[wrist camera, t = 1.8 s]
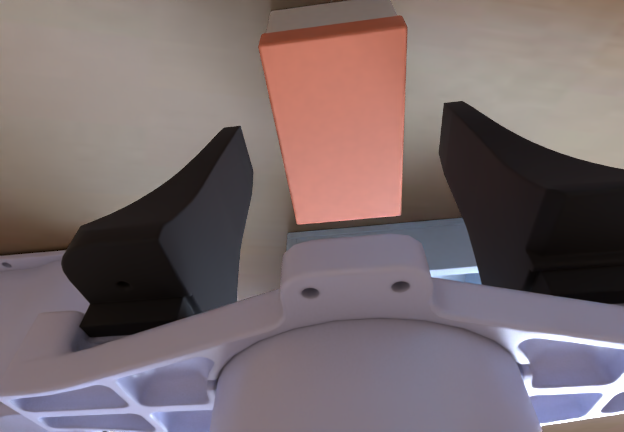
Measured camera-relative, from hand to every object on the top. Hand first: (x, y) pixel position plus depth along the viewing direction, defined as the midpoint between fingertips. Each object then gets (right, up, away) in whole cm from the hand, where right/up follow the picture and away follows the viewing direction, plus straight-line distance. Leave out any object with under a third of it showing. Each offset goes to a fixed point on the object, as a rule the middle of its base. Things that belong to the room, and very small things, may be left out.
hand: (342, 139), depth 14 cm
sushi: (0, +3, +3) cm, 4 cm away
